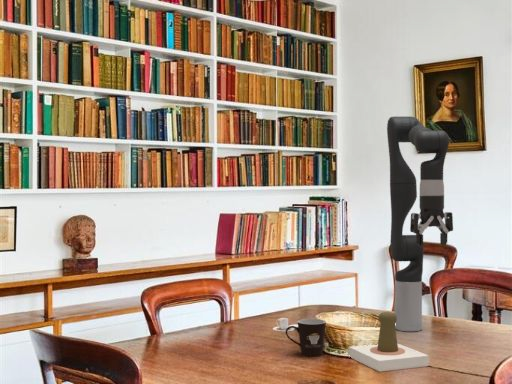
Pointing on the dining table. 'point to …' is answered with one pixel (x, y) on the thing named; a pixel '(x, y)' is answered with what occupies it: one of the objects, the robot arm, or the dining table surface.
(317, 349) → the coffee mug
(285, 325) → the teacup and saucer
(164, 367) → the dining table surface
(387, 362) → the plinth
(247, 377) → the dining table surface
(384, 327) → the brown pawn
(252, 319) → the dining table surface
